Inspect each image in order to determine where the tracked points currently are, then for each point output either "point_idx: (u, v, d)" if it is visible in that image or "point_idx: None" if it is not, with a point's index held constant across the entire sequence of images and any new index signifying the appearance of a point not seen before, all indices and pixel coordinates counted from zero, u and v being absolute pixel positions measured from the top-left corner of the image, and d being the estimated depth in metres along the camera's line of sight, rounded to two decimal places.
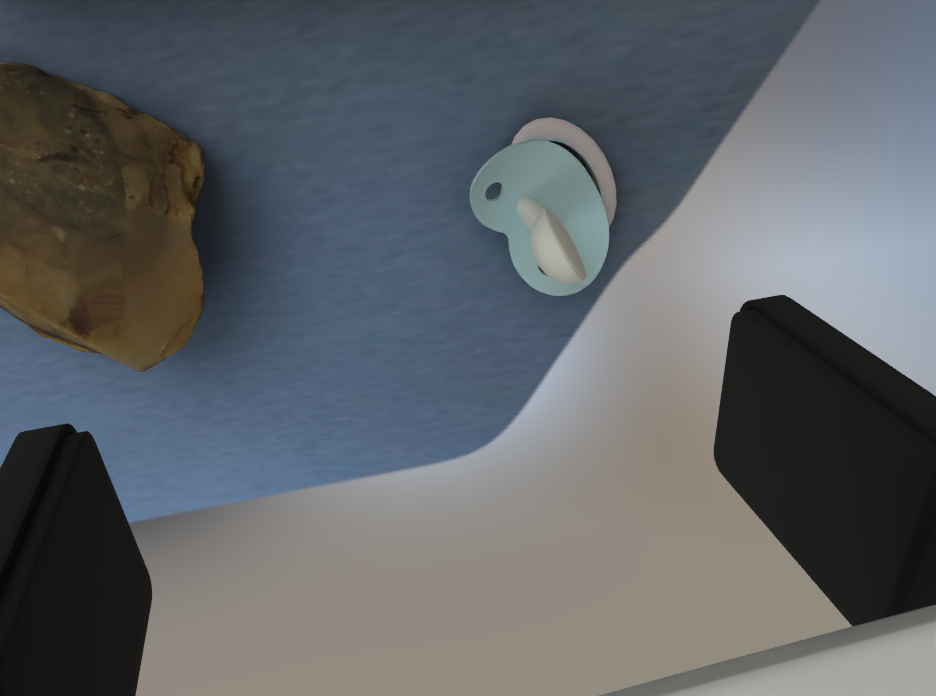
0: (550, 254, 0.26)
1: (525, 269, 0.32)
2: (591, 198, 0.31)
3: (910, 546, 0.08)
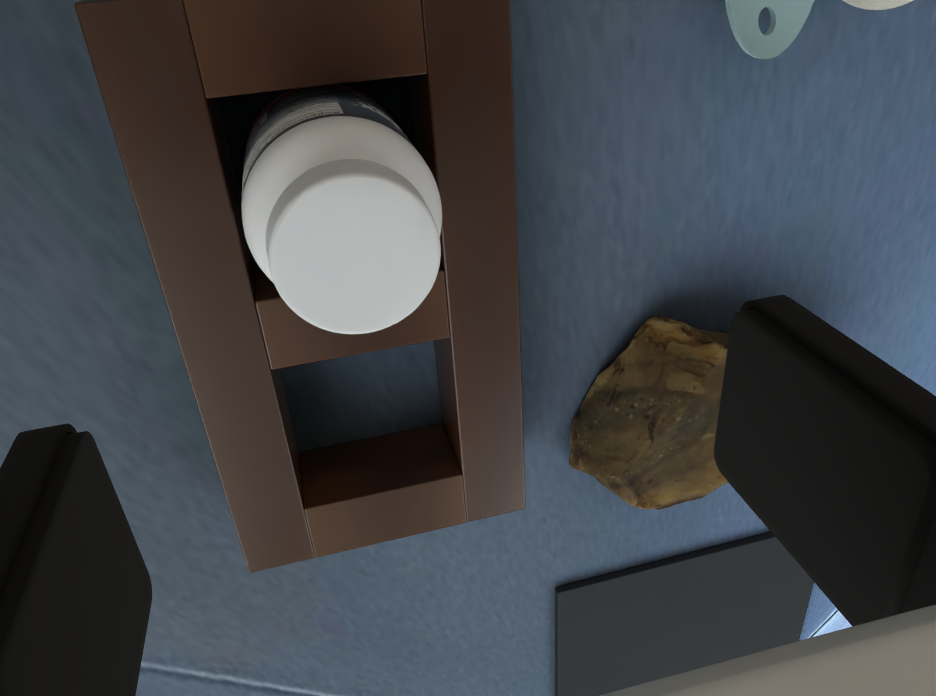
0: None
1: None
2: None
3: (910, 546, 0.08)
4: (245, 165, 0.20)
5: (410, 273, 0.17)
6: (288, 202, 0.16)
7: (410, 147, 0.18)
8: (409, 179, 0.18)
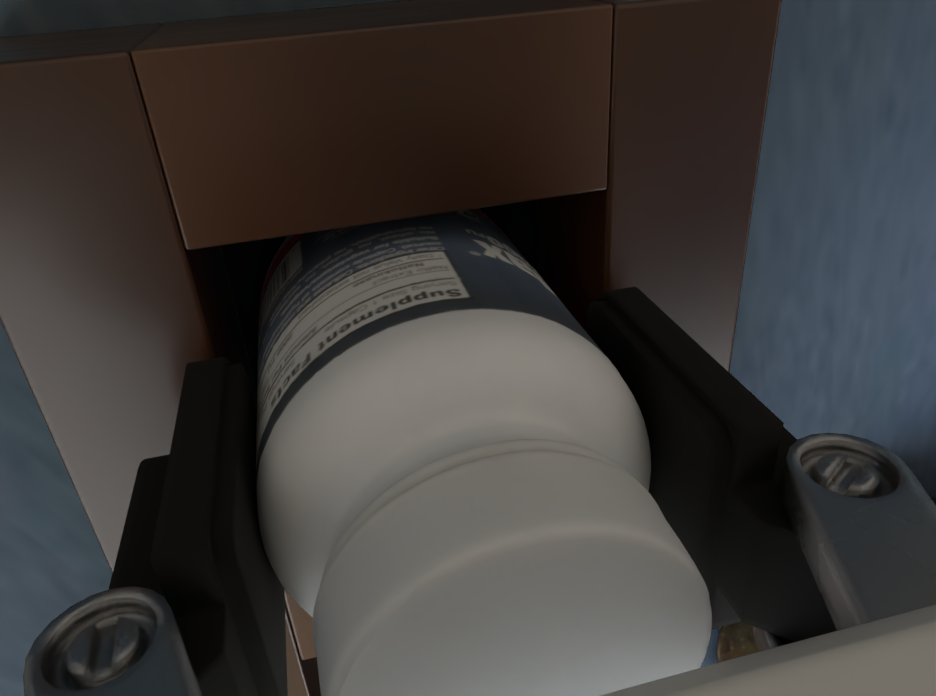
0: None
1: None
2: None
3: (710, 519, 0.09)
4: (263, 368, 0.10)
5: None
6: (379, 601, 0.06)
7: (607, 366, 0.09)
8: (609, 439, 0.09)
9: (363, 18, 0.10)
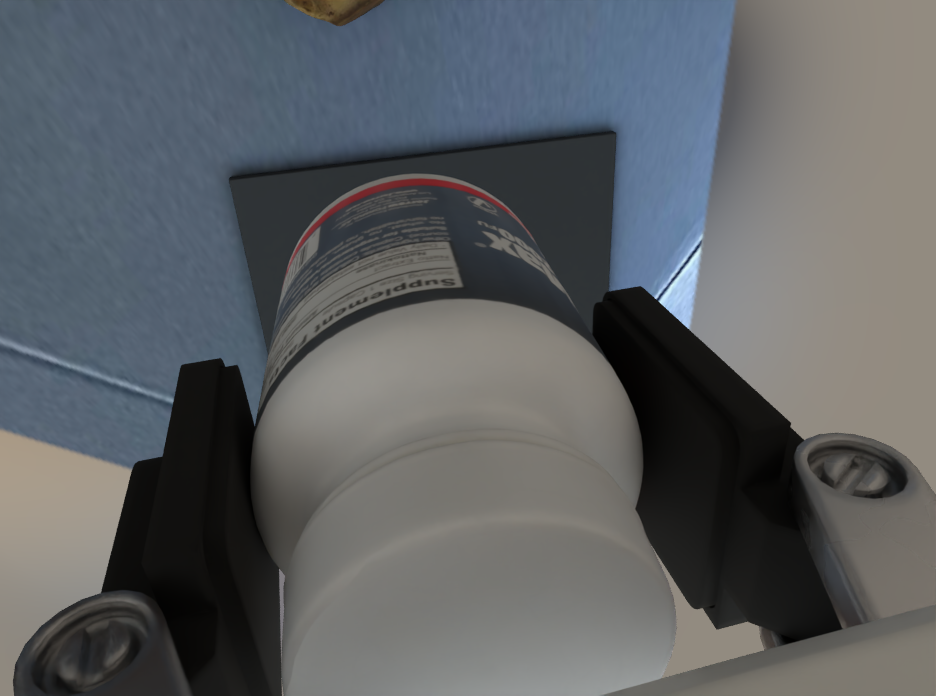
0: None
1: None
2: None
3: (717, 519, 0.09)
4: (271, 348, 0.11)
5: (601, 687, 0.07)
6: (332, 575, 0.06)
7: (598, 363, 0.09)
8: (594, 436, 0.09)
9: None
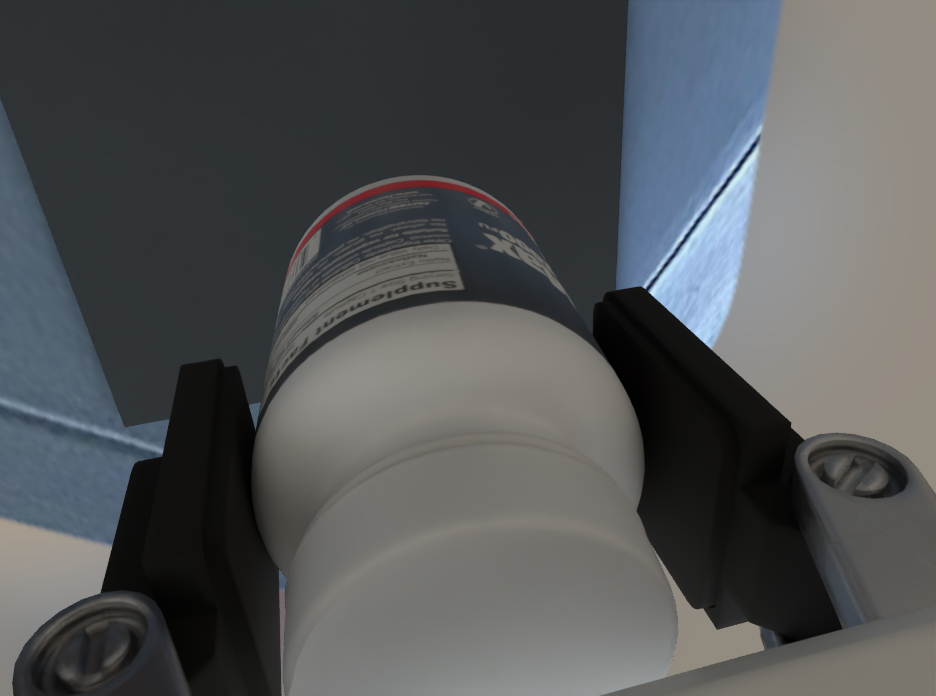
0: None
1: None
2: None
3: (717, 519, 0.09)
4: (272, 350, 0.11)
5: (602, 690, 0.07)
6: (334, 579, 0.06)
7: (599, 365, 0.09)
8: (596, 438, 0.09)
9: None
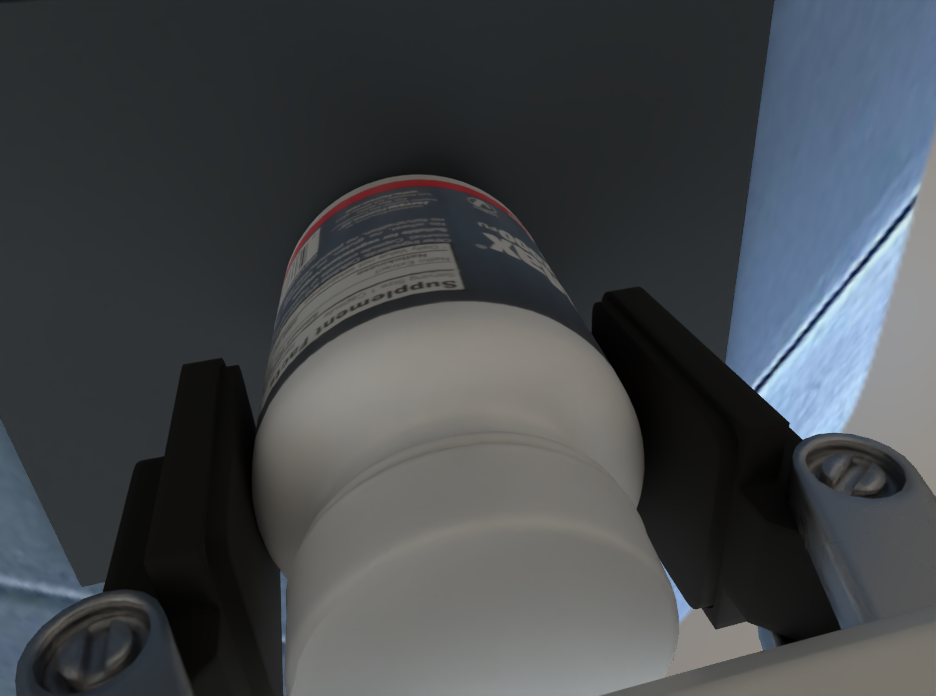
0: None
1: None
2: None
3: (715, 519, 0.09)
4: (271, 350, 0.11)
5: (603, 689, 0.07)
6: (336, 579, 0.06)
7: (599, 365, 0.09)
8: (596, 438, 0.09)
9: None
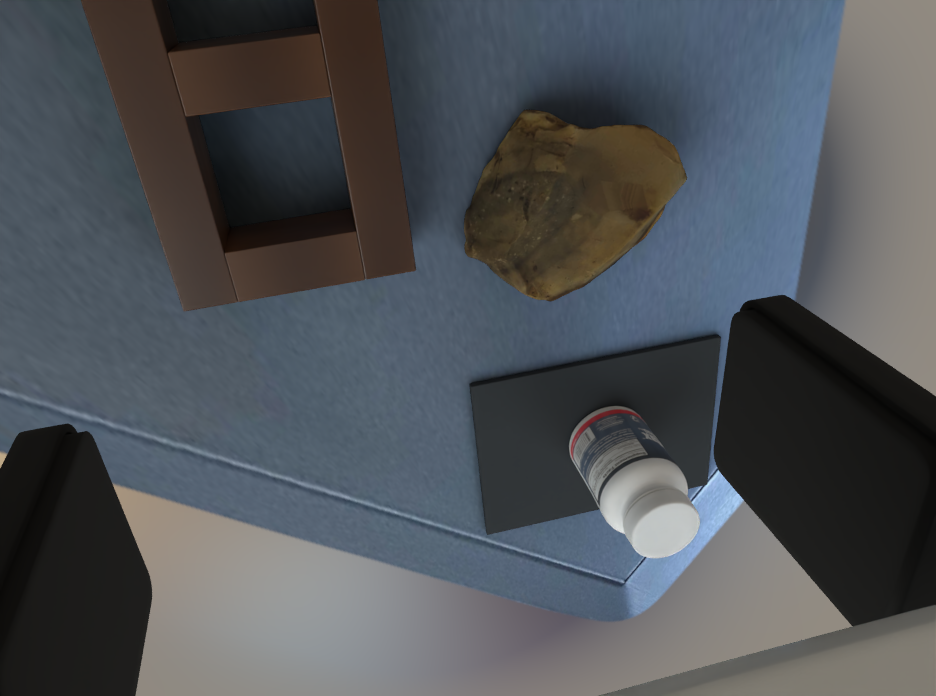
0: None
1: None
2: None
3: (910, 546, 0.08)
4: (591, 466, 0.42)
5: (686, 534, 0.39)
6: (643, 514, 0.38)
7: (678, 469, 0.41)
8: (678, 485, 0.40)
9: None
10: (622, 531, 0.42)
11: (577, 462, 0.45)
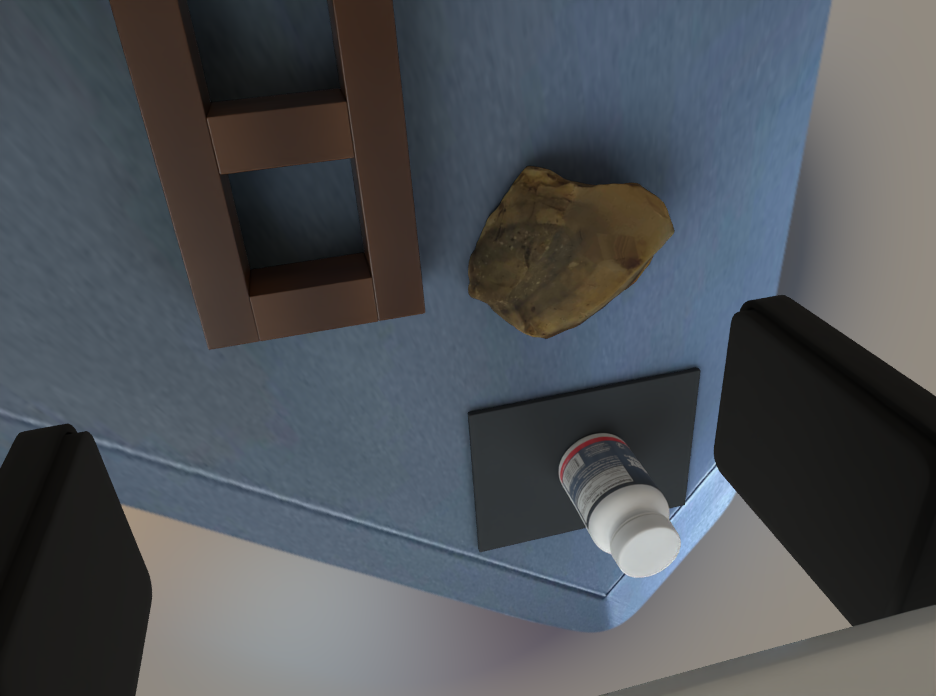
0: None
1: None
2: None
3: (910, 546, 0.08)
4: (580, 490, 0.46)
5: (668, 555, 0.43)
6: (630, 537, 0.41)
7: (660, 494, 0.44)
8: (661, 509, 0.44)
9: None
10: (608, 552, 0.45)
11: (566, 486, 0.48)
